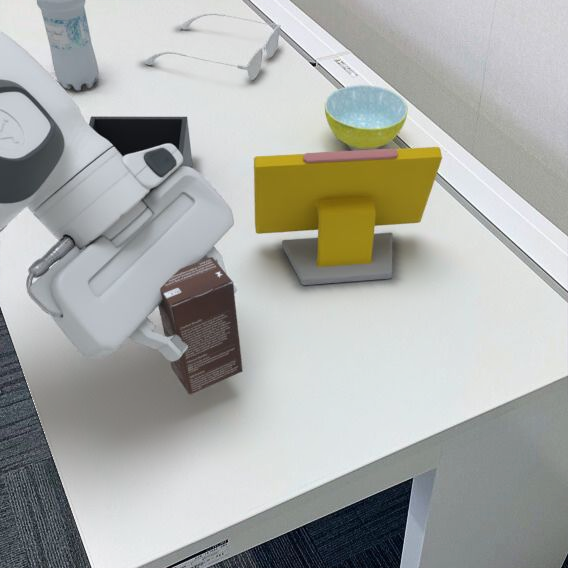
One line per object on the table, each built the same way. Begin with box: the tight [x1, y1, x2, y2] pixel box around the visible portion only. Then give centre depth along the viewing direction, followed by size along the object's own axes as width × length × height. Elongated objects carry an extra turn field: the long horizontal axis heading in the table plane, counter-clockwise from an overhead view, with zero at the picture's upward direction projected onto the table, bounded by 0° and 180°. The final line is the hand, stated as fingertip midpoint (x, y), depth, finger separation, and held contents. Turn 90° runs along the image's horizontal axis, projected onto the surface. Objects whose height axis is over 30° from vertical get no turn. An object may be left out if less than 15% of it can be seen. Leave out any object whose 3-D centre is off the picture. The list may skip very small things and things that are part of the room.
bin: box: [88, 115, 193, 168], centre depth 98 cm, size 12×12×7 cm
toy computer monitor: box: [253, 146, 443, 286], centre depth 87 cm, size 20×8×16 cm, turn 100°
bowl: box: [324, 84, 409, 151], centre depth 108 cm, size 11×12×6 cm
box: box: [157, 257, 244, 396], centre depth 71 cm, size 6×4×12 cm
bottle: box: [36, 0, 99, 91], centre depth 110 cm, size 7×7×20 cm
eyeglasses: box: [144, 13, 282, 81], centre depth 124 cm, size 15×18×4 cm
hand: (206, 325), depth 71 cm, fingers closed on box, 7 cm apart
